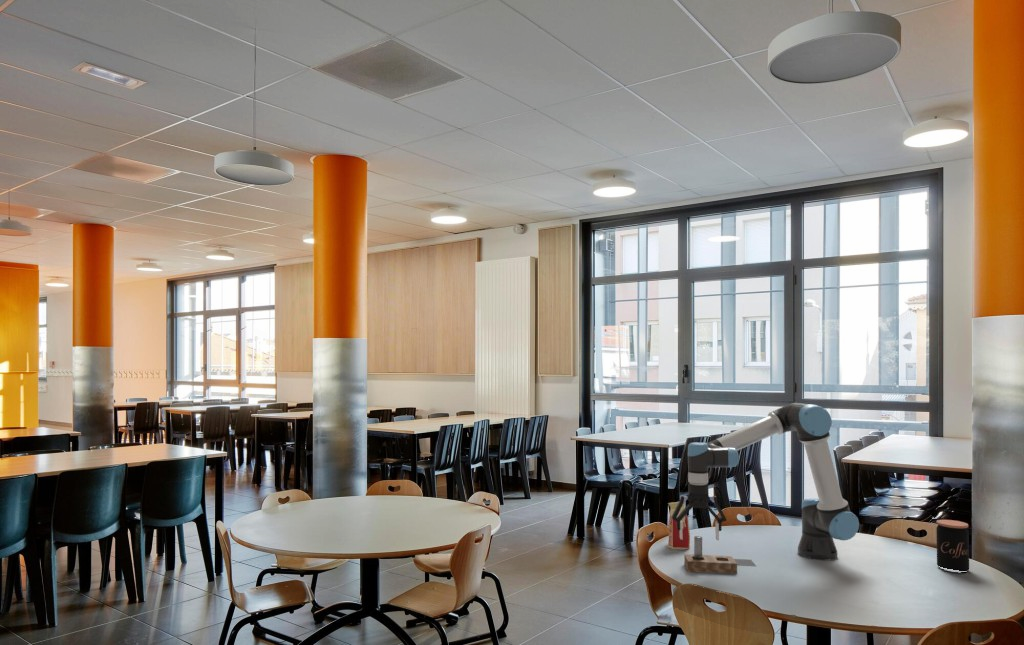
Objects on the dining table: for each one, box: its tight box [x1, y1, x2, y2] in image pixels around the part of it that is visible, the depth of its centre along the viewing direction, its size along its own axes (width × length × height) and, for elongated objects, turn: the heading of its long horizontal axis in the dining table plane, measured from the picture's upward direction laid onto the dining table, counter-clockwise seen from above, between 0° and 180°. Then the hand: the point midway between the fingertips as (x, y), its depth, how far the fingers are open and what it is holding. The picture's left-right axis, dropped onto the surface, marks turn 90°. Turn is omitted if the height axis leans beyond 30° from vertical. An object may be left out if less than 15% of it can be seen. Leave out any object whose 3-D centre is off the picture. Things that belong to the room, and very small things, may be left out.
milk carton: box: [667, 501, 691, 551], centre depth 298 cm, size 9×9×20 cm
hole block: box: [683, 553, 738, 574], centre depth 266 cm, size 18×10×4 cm, turn 84°
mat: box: [733, 558, 757, 567], centre depth 274 cm, size 9×9×1 cm
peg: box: [693, 535, 703, 560], centre depth 266 cm, size 3×3×12 cm
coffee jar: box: [935, 519, 970, 572], centre depth 271 cm, size 11×11×18 cm
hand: (699, 539), depth 267 cm, fingers open, 13 cm apart
